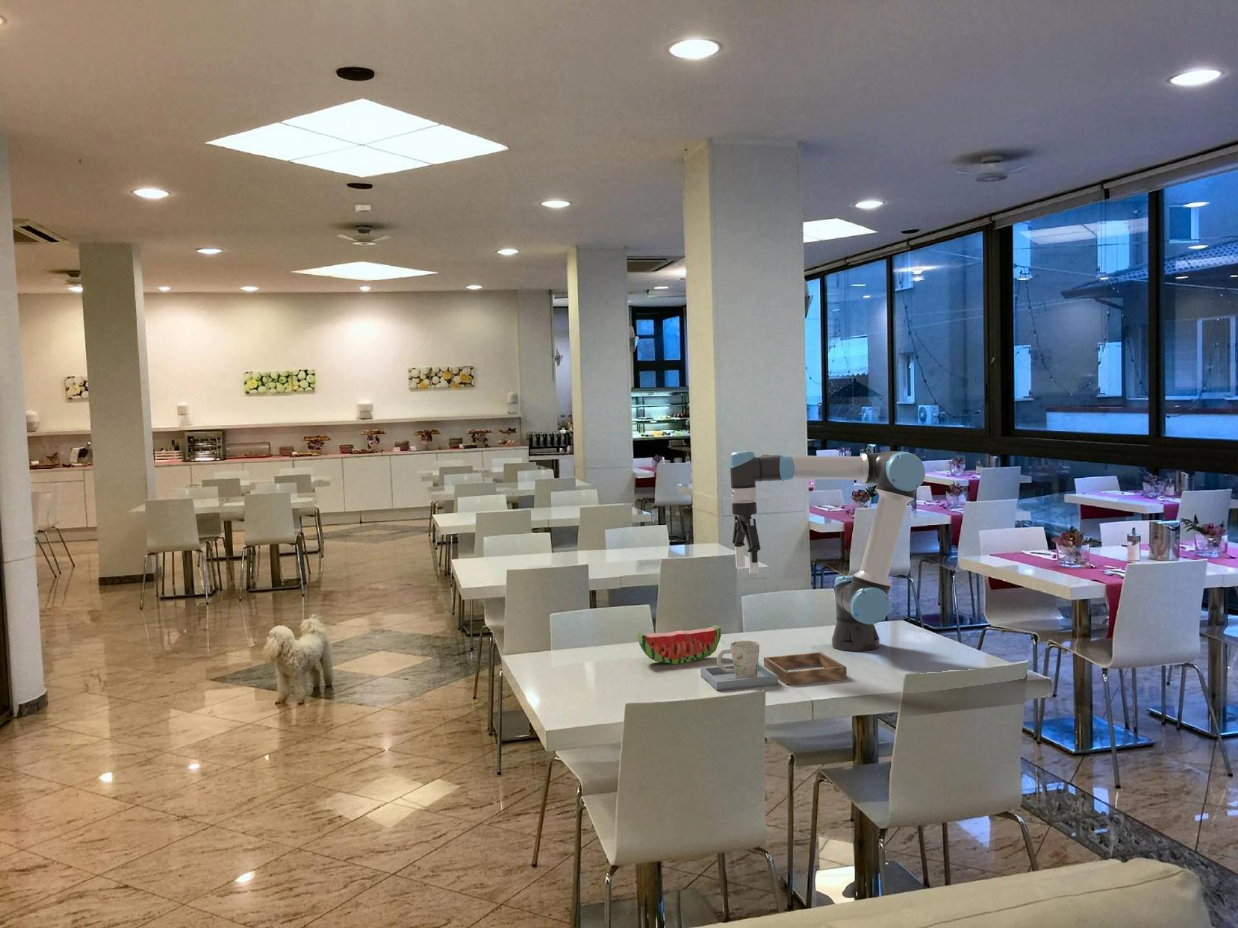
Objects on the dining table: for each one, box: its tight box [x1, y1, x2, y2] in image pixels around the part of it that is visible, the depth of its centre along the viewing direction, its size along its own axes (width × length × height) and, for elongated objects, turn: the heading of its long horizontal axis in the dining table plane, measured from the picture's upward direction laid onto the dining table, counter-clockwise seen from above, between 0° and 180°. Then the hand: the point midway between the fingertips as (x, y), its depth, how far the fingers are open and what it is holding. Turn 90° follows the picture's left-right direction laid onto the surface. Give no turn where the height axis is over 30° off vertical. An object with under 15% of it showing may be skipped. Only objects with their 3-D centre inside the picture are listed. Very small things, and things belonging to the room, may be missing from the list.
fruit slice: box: [637, 624, 722, 665], centre depth 313 cm, size 26×6×10 cm, turn 103°
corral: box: [763, 651, 848, 686], centre depth 290 cm, size 18×20×4 cm
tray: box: [700, 661, 779, 692], centre depth 286 cm, size 18×17×2 cm
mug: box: [716, 640, 760, 679], centre depth 286 cm, size 8×13×10 cm, turn 78°
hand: (747, 570), depth 305 cm, fingers open, 13 cm apart
